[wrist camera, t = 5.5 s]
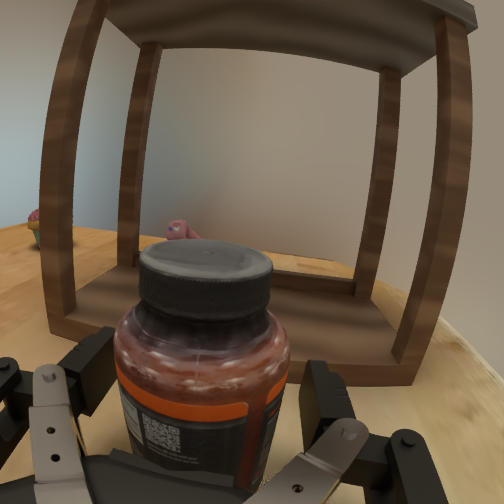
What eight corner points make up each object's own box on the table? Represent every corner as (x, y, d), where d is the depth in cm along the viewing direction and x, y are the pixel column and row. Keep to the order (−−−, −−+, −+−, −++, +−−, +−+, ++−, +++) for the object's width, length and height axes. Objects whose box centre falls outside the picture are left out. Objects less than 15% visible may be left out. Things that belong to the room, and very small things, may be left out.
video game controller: (182, 256, 53) (167, 220, 51) (205, 247, 54) (191, 210, 51) (176, 275, 44) (157, 231, 42) (204, 264, 44) (186, 219, 42)
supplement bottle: (243, 430, 15) (274, 236, 12) (274, 513, 10) (352, 291, 7) (139, 433, 14) (124, 227, 11) (141, 523, 8) (82, 284, 5)
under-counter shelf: (423, 388, 20) (473, 5, 12) (39, 332, 20) (80, -32, 13) (367, 306, 36) (400, 62, 28) (119, 273, 37) (146, 34, 29)
